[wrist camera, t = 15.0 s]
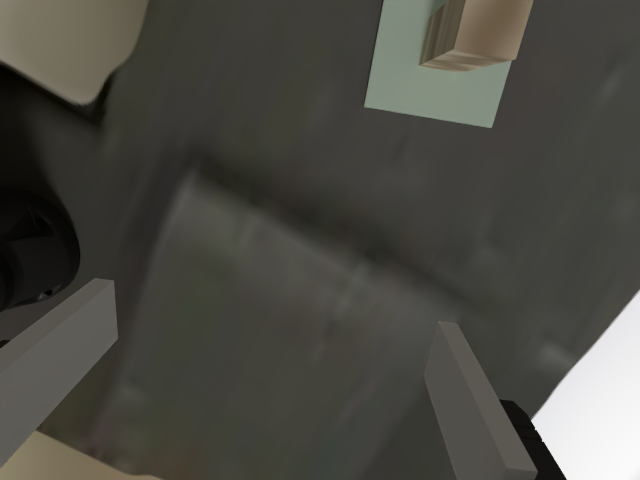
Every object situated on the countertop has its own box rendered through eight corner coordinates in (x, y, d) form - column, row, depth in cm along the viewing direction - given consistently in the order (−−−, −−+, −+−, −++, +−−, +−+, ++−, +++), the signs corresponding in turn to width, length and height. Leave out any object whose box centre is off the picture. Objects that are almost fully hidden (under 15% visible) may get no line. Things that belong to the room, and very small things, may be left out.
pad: (363, 106, 43) (364, 106, 42) (391, -42, 38) (392, -46, 37) (488, 127, 43) (491, 128, 42) (531, -19, 38) (536, -22, 37)
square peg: (418, 65, 40) (453, 48, 27) (429, 18, 39) (471, -24, 26) (460, 72, 40) (515, 59, 27) (472, 25, 39) (537, -13, 26)
